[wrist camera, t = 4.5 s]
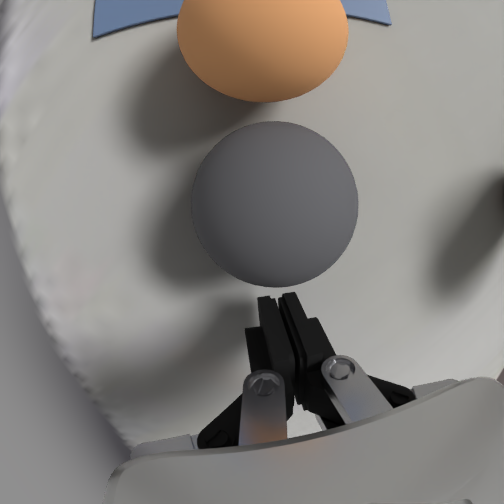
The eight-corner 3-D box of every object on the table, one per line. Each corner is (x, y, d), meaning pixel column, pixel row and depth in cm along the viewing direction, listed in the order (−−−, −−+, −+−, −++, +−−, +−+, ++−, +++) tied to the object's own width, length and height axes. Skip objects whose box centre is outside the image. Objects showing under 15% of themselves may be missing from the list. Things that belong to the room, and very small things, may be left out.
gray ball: (377, 118, 5) (304, 92, 9) (141, 207, 6) (173, 142, 10) (391, 284, 8) (335, 204, 13) (236, 341, 9) (227, 245, 13)
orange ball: (311, 135, 10) (380, 84, 5) (173, 112, 10) (131, 40, 4) (324, 33, 9) (372, -40, 4) (204, 11, 9) (197, -73, 3)
